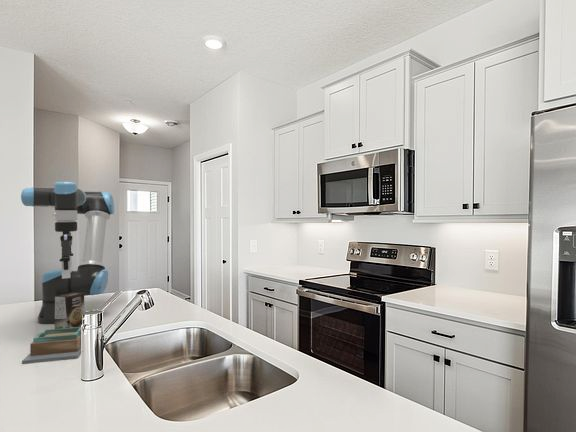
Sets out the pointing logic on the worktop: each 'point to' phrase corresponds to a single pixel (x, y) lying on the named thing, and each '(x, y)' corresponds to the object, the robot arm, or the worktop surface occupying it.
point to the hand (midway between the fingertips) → (67, 275)
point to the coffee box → (69, 310)
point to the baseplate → (51, 357)
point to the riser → (56, 341)
